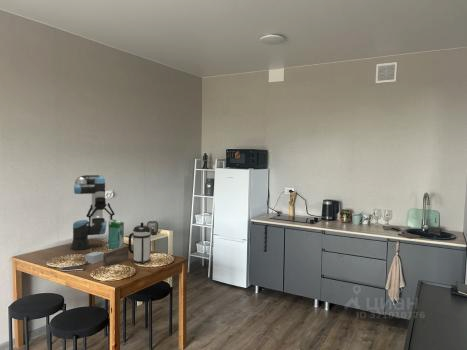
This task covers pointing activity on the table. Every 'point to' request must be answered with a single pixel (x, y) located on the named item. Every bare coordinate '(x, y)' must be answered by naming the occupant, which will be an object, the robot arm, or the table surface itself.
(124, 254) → the board
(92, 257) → the block
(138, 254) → the coffee press
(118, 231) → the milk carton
